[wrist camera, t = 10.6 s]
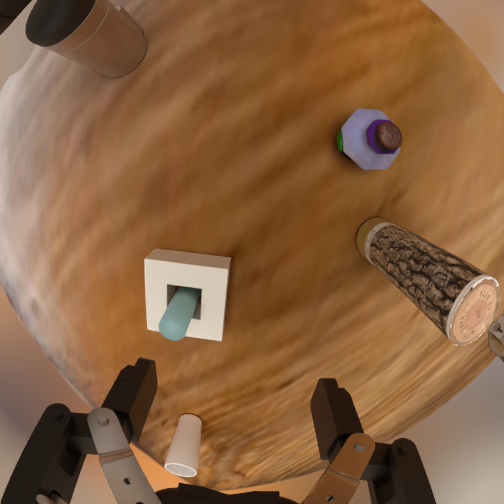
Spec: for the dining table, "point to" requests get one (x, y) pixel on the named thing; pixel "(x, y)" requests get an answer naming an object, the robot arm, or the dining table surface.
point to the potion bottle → (370, 139)
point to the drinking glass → (185, 447)
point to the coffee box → (497, 337)
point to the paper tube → (432, 279)
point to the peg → (179, 313)
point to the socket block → (189, 275)
